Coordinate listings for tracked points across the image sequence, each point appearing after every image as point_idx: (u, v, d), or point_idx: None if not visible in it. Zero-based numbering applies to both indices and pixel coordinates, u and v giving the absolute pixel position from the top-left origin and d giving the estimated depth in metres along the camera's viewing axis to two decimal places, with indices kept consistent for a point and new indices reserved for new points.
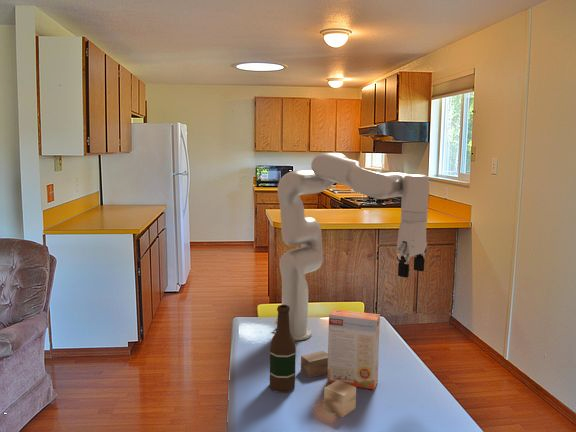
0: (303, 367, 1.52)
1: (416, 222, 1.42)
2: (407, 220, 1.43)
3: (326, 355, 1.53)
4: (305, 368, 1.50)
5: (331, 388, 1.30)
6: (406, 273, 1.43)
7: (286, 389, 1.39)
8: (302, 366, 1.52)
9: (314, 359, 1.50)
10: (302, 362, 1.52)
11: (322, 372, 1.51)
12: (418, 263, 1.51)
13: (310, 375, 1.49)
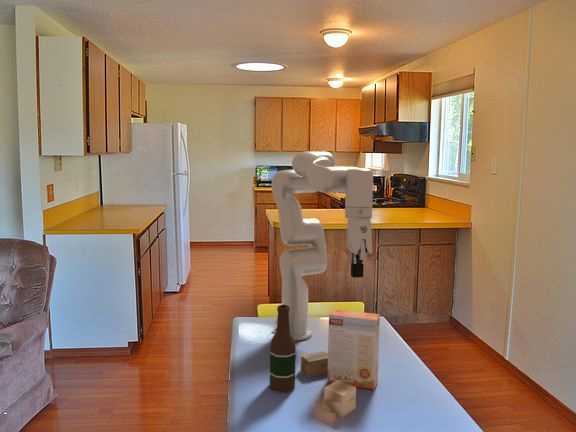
0: (303, 367, 1.52)
1: None
2: None
3: (326, 355, 1.53)
4: (305, 368, 1.50)
5: (331, 388, 1.30)
6: None
7: (286, 389, 1.39)
8: (302, 366, 1.52)
9: (314, 359, 1.50)
10: (302, 362, 1.52)
11: (322, 372, 1.51)
12: None
13: (310, 375, 1.49)
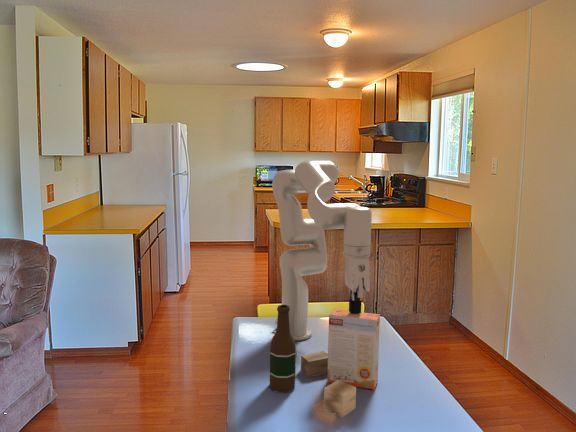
0: (303, 367, 1.52)
1: None
2: None
3: (326, 355, 1.53)
4: (305, 367, 1.51)
5: (331, 388, 1.30)
6: None
7: (286, 389, 1.39)
8: (302, 365, 1.52)
9: (314, 359, 1.50)
10: (302, 362, 1.52)
11: (322, 372, 1.51)
12: None
13: (309, 375, 1.49)
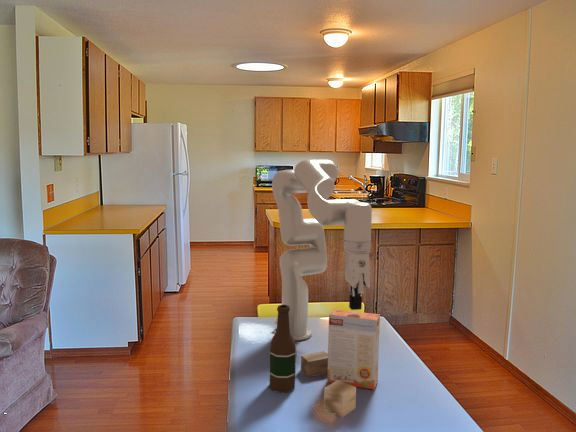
0: (303, 367, 1.52)
1: None
2: None
3: (326, 355, 1.53)
4: (305, 367, 1.51)
5: (331, 388, 1.30)
6: None
7: (286, 389, 1.39)
8: (302, 365, 1.52)
9: (313, 359, 1.50)
10: (302, 362, 1.52)
11: (322, 372, 1.51)
12: None
13: (309, 375, 1.49)
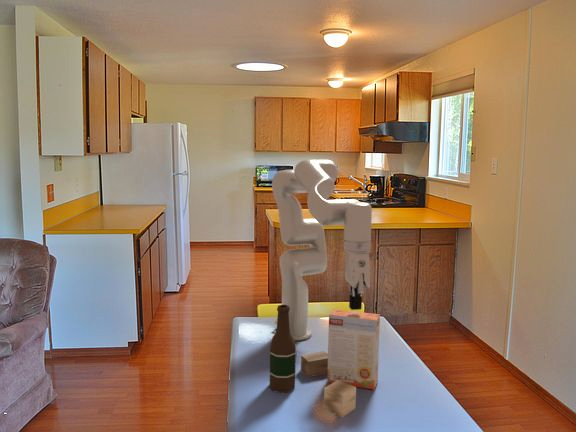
0: (302, 367, 1.52)
1: None
2: None
3: (326, 355, 1.53)
4: (305, 367, 1.51)
5: (331, 388, 1.30)
6: None
7: (286, 389, 1.39)
8: (302, 365, 1.52)
9: (313, 359, 1.50)
10: (302, 361, 1.52)
11: (321, 372, 1.51)
12: None
13: (309, 375, 1.49)
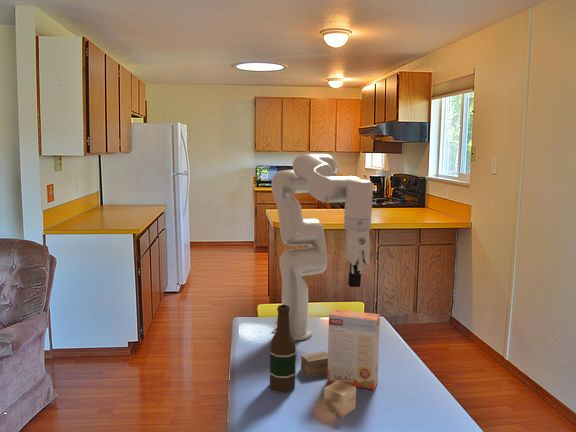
0: (302, 367, 1.52)
1: None
2: None
3: (326, 355, 1.52)
4: (304, 367, 1.51)
5: (331, 388, 1.30)
6: None
7: (286, 389, 1.39)
8: (302, 365, 1.52)
9: (313, 359, 1.50)
10: (302, 361, 1.52)
11: (321, 372, 1.51)
12: None
13: (309, 375, 1.49)
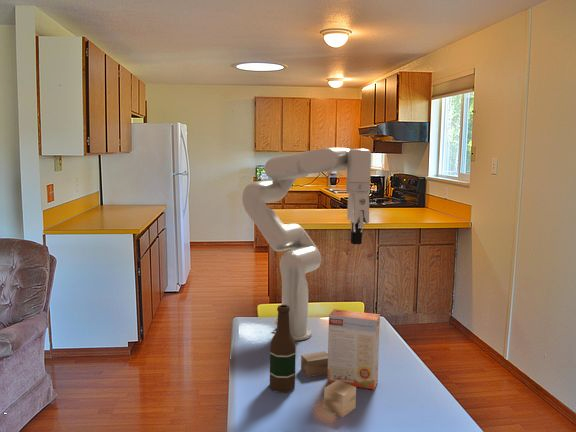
0: (302, 366, 1.52)
1: None
2: None
3: (326, 356, 1.52)
4: (304, 367, 1.51)
5: (331, 388, 1.30)
6: None
7: (286, 389, 1.39)
8: (302, 365, 1.53)
9: (313, 359, 1.50)
10: (302, 361, 1.52)
11: (321, 372, 1.51)
12: None
13: (308, 375, 1.49)
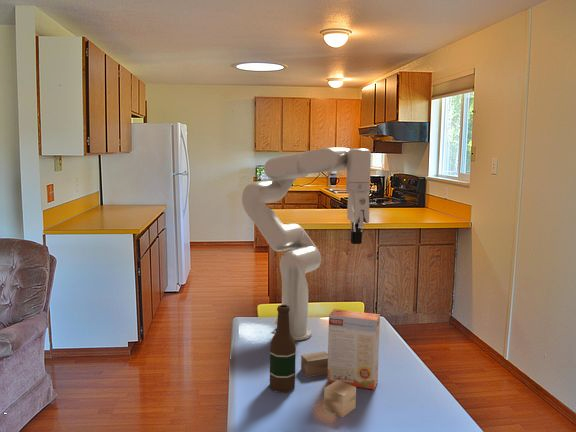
0: (302, 366, 1.52)
1: None
2: None
3: (326, 356, 1.52)
4: (304, 367, 1.51)
5: (331, 388, 1.30)
6: None
7: (286, 389, 1.39)
8: (302, 365, 1.53)
9: (313, 359, 1.50)
10: (302, 361, 1.52)
11: (321, 372, 1.51)
12: None
13: (308, 375, 1.49)
